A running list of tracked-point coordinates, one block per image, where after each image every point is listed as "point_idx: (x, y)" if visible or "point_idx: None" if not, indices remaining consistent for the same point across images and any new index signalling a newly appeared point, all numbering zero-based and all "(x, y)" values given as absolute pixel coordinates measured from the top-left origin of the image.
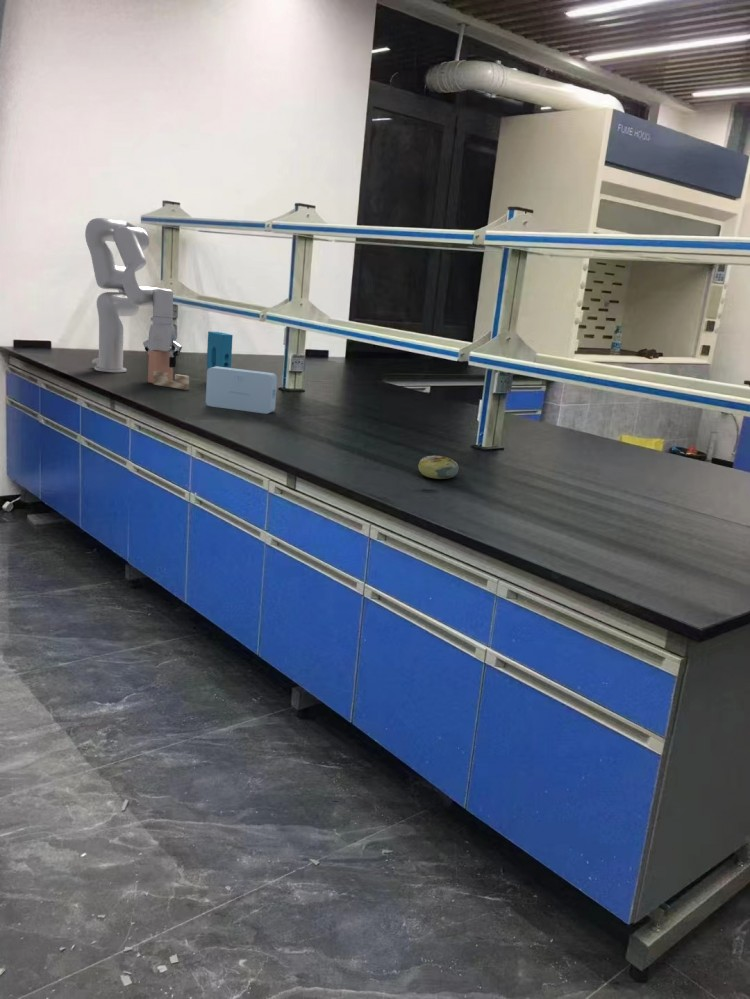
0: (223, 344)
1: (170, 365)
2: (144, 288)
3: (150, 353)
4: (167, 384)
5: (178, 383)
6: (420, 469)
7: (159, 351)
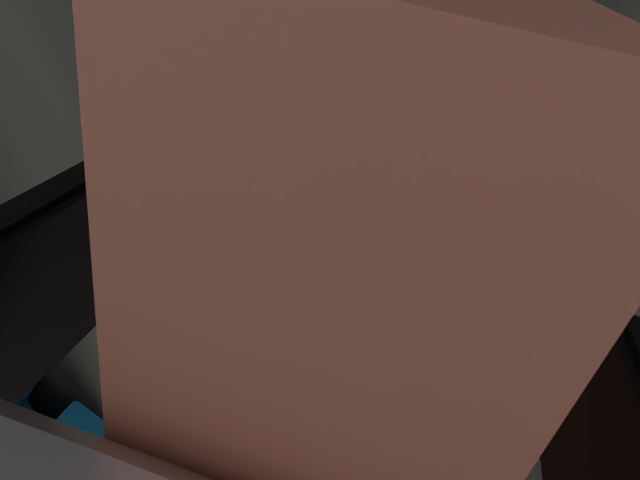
0: None
1: (80, 163)
2: None
3: (547, 24)
4: None
5: None
6: None
7: (153, 422)
